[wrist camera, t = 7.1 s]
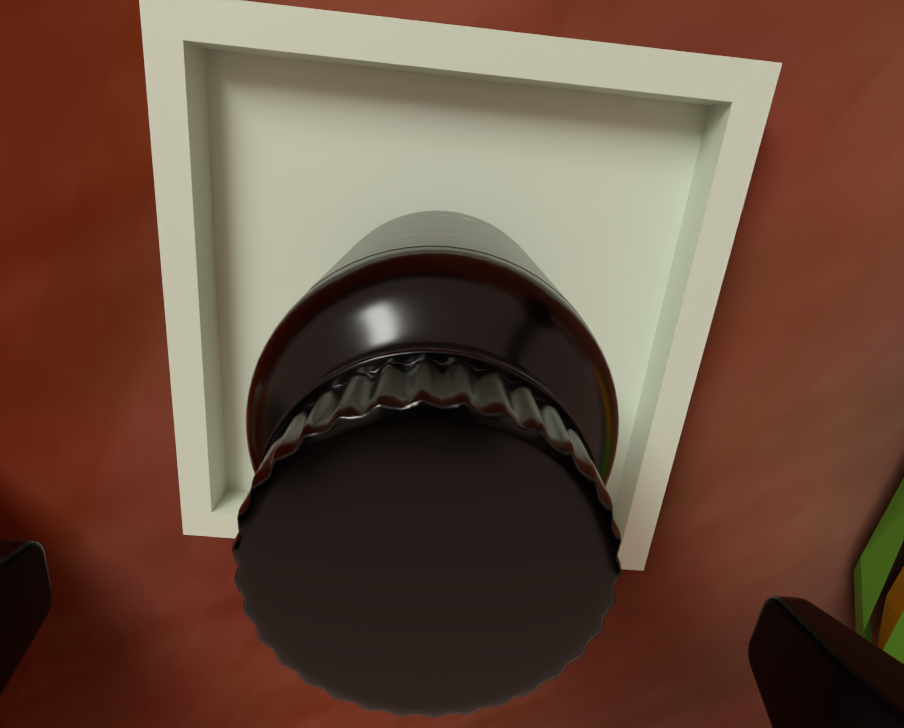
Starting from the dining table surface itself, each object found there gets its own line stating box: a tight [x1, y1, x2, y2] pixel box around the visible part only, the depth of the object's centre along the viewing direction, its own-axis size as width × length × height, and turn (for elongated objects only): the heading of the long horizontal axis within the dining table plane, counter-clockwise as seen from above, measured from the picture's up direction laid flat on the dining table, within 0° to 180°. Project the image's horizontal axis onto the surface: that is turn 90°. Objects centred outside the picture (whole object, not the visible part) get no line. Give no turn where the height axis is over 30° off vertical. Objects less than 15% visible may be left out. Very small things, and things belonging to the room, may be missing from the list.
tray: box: [139, 0, 782, 571], centre depth 18 cm, size 16×16×2 cm
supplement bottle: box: [232, 211, 622, 718], centre depth 12 cm, size 7×7×12 cm
